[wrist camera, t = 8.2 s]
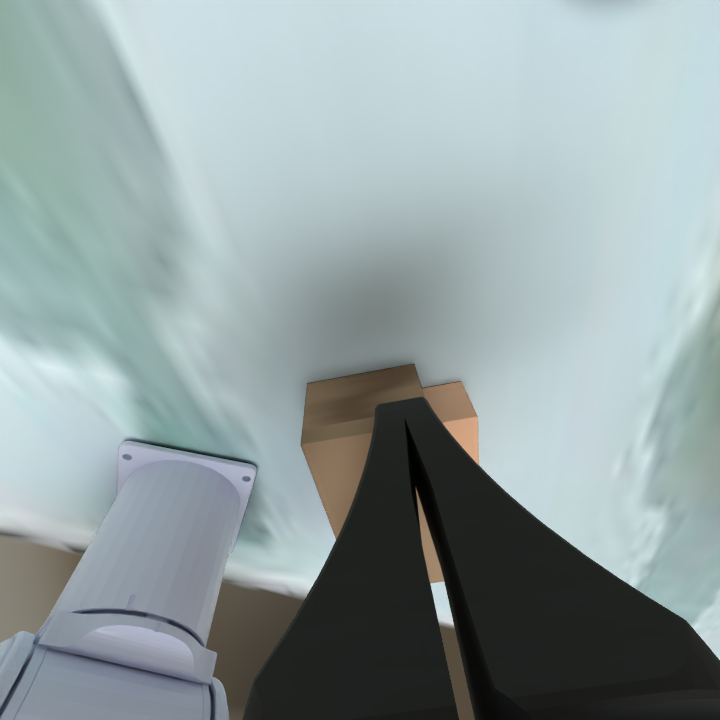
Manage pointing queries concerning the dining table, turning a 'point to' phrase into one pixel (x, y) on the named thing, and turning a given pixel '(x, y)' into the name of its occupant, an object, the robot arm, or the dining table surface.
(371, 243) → the dining table surface
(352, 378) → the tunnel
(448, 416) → the peach rectangular prism
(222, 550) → the robot arm
